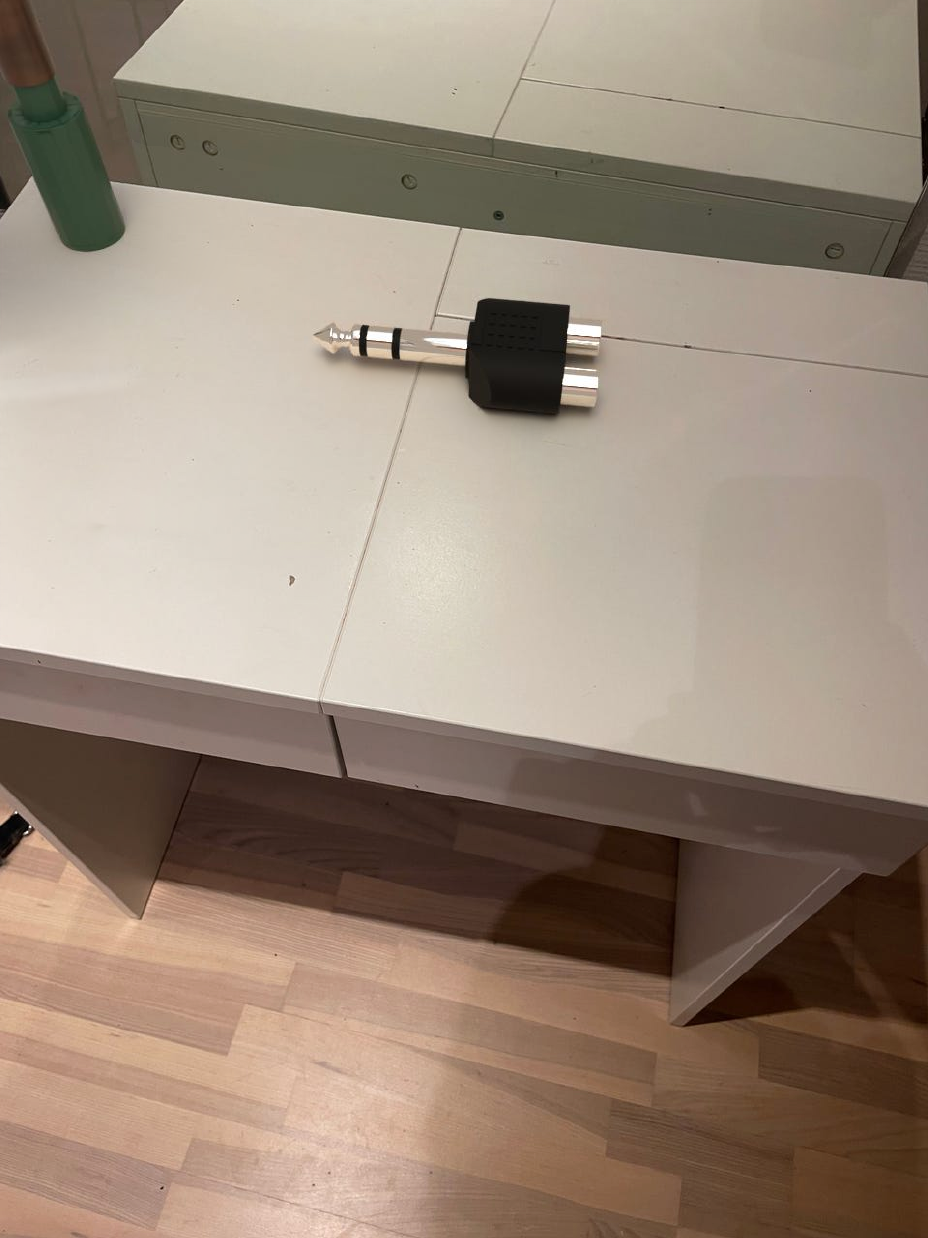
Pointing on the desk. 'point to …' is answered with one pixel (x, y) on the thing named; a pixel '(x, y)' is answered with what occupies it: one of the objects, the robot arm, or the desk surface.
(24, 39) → the brown cylinder
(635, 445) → the desk surface
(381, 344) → the audio adapter
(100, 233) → the bottle
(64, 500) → the desk surface
